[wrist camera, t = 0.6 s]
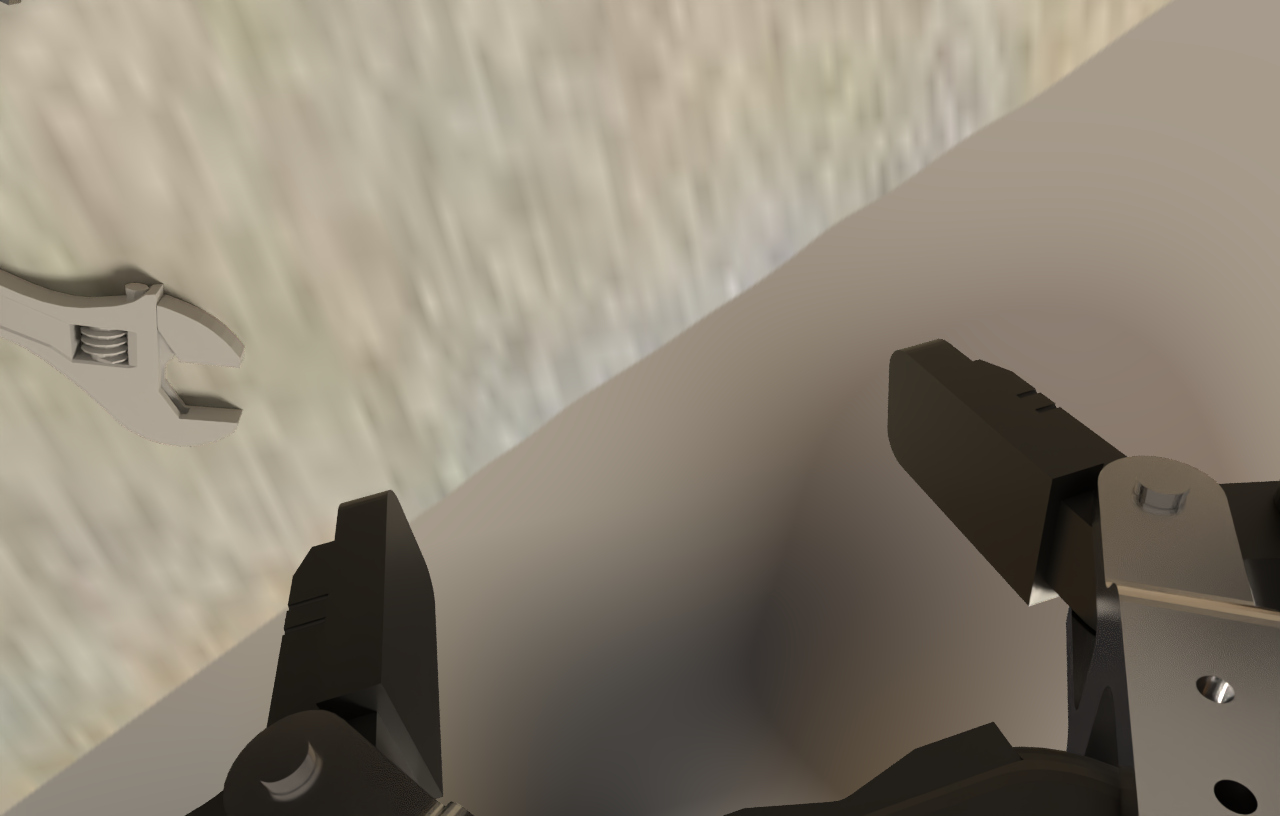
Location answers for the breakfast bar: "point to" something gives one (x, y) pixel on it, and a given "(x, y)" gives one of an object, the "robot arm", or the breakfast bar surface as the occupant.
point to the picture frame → (11, 1)
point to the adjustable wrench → (126, 353)
